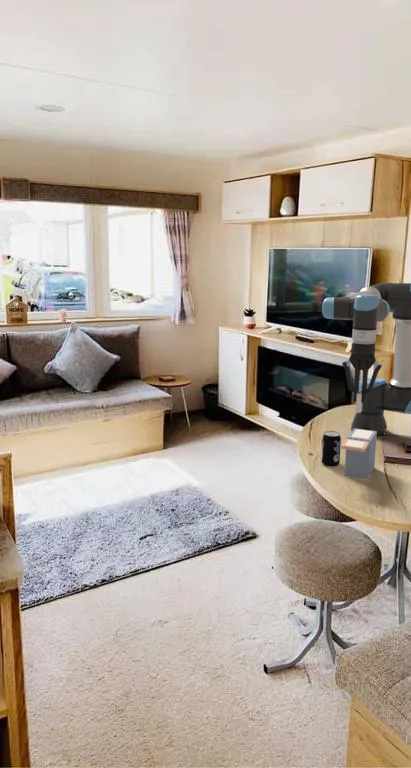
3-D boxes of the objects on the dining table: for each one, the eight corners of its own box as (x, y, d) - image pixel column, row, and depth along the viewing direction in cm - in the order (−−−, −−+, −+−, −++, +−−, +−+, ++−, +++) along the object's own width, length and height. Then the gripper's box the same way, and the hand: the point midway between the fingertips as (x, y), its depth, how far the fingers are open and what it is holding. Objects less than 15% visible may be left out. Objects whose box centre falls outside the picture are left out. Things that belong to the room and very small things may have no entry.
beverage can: (329, 468, 203) (330, 437, 200) (317, 462, 209) (319, 432, 206) (343, 465, 206) (345, 434, 203) (331, 459, 212) (333, 429, 209)
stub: (346, 441, 193) (346, 438, 192) (369, 444, 189) (369, 441, 189) (341, 448, 186) (341, 445, 186) (364, 452, 182) (364, 448, 182)
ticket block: (352, 464, 207) (354, 428, 203) (374, 467, 203) (376, 431, 200) (344, 475, 196) (346, 437, 193) (367, 479, 193) (370, 441, 190)
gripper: (341, 342, 183) (336, 411, 188) (382, 345, 177) (376, 416, 182) (346, 339, 189) (342, 406, 194) (386, 342, 183) (380, 411, 188)
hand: (358, 411), depth 188 cm, fingers closed
